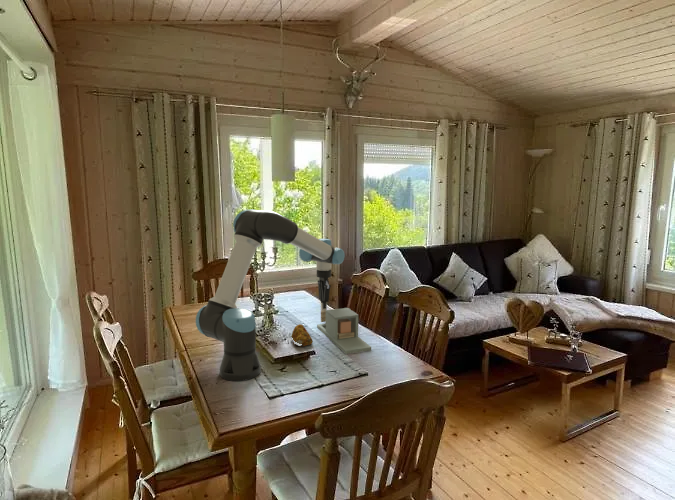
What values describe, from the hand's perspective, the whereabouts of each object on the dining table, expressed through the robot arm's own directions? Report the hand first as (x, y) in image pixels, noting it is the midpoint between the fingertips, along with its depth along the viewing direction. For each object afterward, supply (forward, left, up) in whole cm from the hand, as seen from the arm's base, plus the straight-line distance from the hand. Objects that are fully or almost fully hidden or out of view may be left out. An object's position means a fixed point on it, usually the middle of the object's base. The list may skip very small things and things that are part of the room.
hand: (323, 314), depth 219 cm
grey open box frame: (-17, 0, -3) cm, 17 cm away
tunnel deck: (-25, 0, -4) cm, 25 cm away
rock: (-24, +20, -5) cm, 32 cm away
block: (-26, 0, -1) cm, 26 cm away
